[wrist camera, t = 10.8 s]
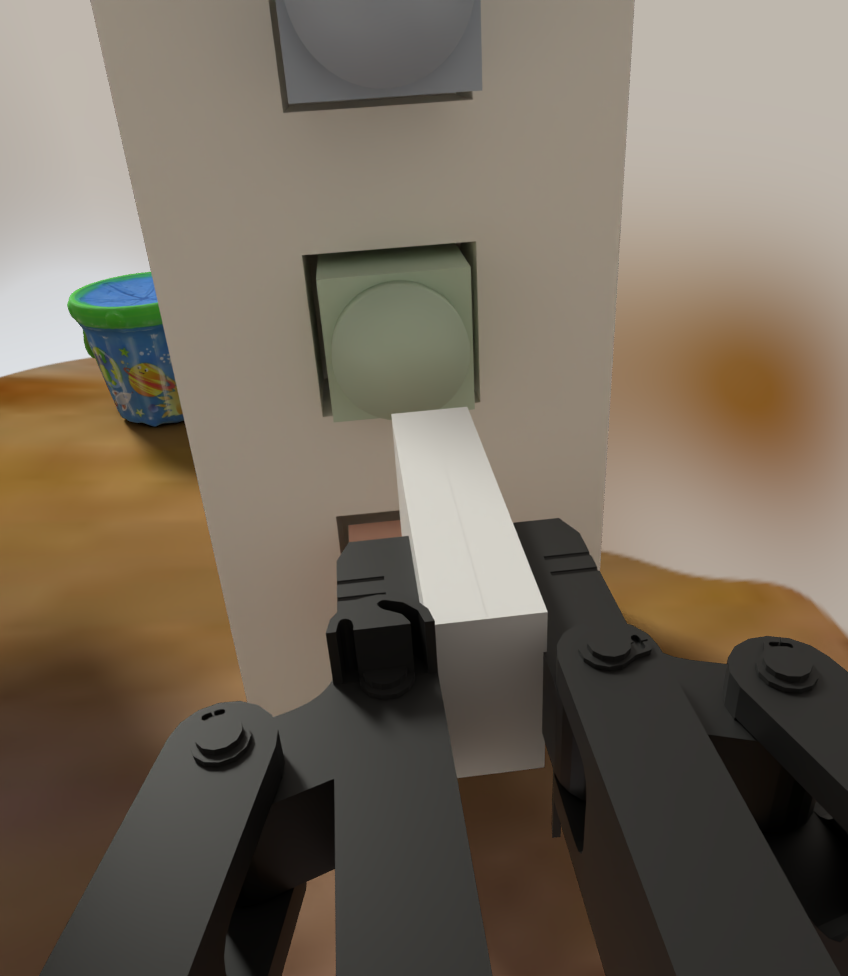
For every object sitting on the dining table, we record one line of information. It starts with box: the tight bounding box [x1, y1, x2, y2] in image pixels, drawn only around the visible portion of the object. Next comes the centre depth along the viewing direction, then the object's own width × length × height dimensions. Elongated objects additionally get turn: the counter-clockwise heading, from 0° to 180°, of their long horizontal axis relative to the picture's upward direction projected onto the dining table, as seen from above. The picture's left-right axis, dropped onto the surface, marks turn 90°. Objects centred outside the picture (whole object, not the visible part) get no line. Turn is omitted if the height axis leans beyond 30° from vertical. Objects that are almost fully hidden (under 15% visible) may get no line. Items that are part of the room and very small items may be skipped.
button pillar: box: [90, 0, 635, 717], centre depth 30 cm, size 10×14×32 cm
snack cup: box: [67, 272, 184, 427], centre depth 63 cm, size 16×10×10 cm
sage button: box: [316, 243, 475, 422], centre depth 25 cm, size 5×4×4 cm
